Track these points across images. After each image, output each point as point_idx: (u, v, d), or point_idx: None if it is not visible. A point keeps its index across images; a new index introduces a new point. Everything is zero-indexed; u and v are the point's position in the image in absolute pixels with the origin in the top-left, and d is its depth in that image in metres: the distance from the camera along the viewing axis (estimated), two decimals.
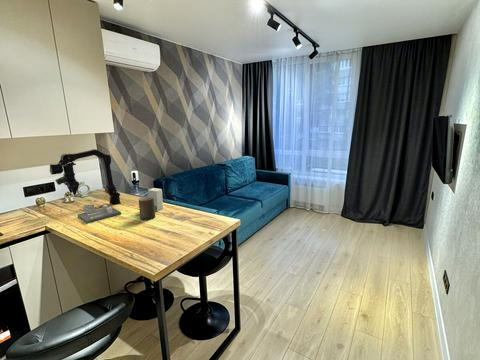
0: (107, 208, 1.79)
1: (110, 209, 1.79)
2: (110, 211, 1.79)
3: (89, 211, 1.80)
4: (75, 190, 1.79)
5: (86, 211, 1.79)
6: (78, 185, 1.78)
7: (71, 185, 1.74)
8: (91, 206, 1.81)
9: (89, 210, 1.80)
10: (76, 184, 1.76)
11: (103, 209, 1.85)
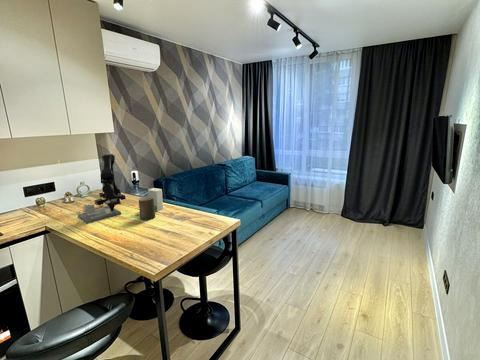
0: (105, 209, 1.78)
1: (108, 210, 1.78)
2: (108, 212, 1.78)
3: (89, 211, 1.80)
4: (109, 207, 1.79)
5: (86, 211, 1.79)
6: (107, 203, 1.76)
7: (95, 202, 1.74)
8: (91, 206, 1.81)
9: (89, 210, 1.80)
10: (96, 203, 1.72)
11: (103, 209, 1.85)
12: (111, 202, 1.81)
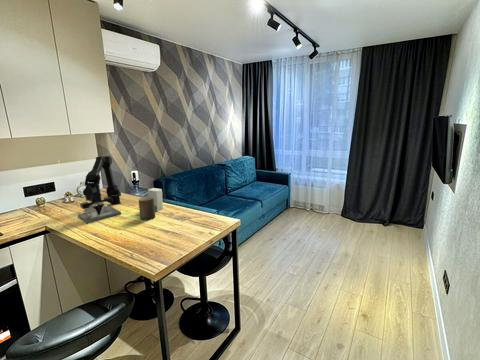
0: (91, 212, 1.72)
1: (94, 213, 1.72)
2: (94, 215, 1.72)
3: (89, 211, 1.80)
4: (96, 210, 1.73)
5: (86, 211, 1.79)
6: (93, 206, 1.69)
7: (80, 206, 1.68)
8: None
9: (89, 210, 1.80)
10: (82, 207, 1.66)
11: (103, 209, 1.85)
12: (98, 205, 1.74)
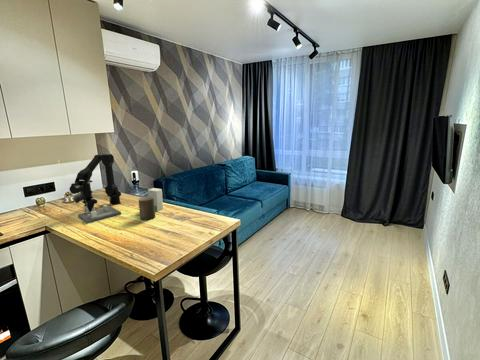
0: (91, 212, 1.72)
1: (94, 213, 1.72)
2: (94, 215, 1.72)
3: None
4: (91, 207, 1.80)
5: (86, 211, 1.79)
6: None
7: (89, 203, 1.72)
8: None
9: None
10: (94, 202, 1.74)
11: (103, 209, 1.85)
12: (86, 202, 1.81)
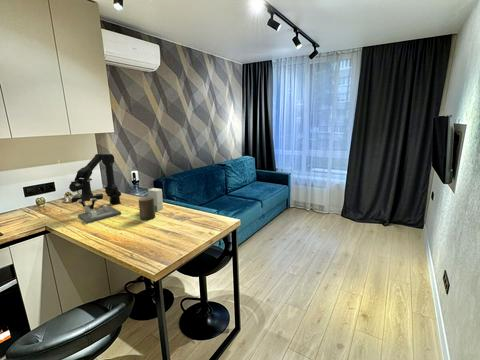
0: (91, 212, 1.72)
1: (94, 213, 1.72)
2: (94, 215, 1.72)
3: (91, 211, 1.81)
4: None
5: (89, 211, 1.79)
6: None
7: (102, 197, 1.81)
8: (91, 205, 1.82)
9: (91, 210, 1.81)
10: (102, 196, 1.84)
11: (103, 209, 1.85)
12: (83, 202, 1.78)
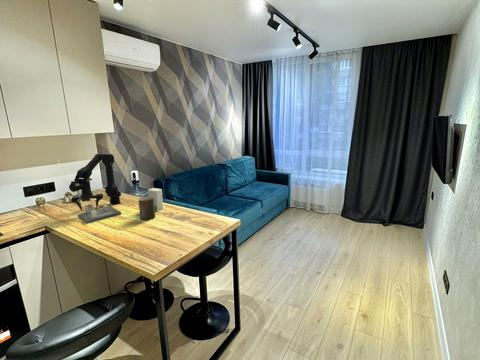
0: (91, 212, 1.72)
1: (94, 213, 1.72)
2: (94, 215, 1.72)
3: (91, 211, 1.81)
4: None
5: (89, 211, 1.79)
6: None
7: (102, 197, 1.81)
8: (91, 205, 1.82)
9: (91, 210, 1.81)
10: (102, 196, 1.84)
11: (103, 209, 1.85)
12: (79, 202, 1.77)
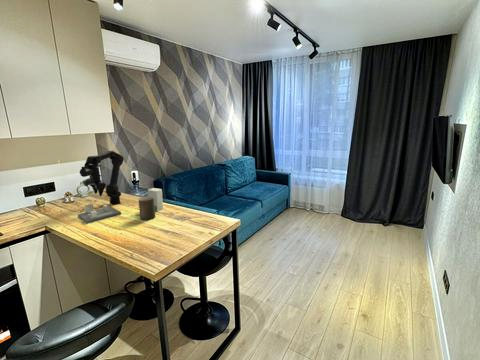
0: (91, 212, 1.72)
1: (94, 213, 1.72)
2: (94, 215, 1.72)
3: (91, 211, 1.81)
4: (101, 191, 1.84)
5: (89, 211, 1.79)
6: (104, 186, 1.84)
7: (98, 186, 1.79)
8: (91, 205, 1.82)
9: (91, 210, 1.81)
10: (103, 185, 1.81)
11: (103, 209, 1.85)
12: (93, 185, 1.90)
